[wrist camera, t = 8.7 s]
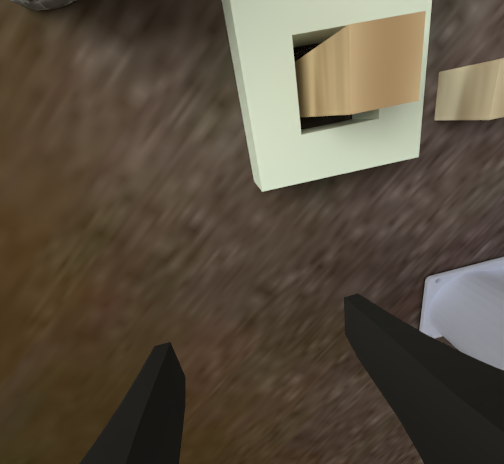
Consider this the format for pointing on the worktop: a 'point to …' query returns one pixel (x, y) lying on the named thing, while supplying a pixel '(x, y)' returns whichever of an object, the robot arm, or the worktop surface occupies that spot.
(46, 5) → the toy
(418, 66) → the long pin
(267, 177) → the socket
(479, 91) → the short pin
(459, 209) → the worktop surface
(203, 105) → the worktop surface
